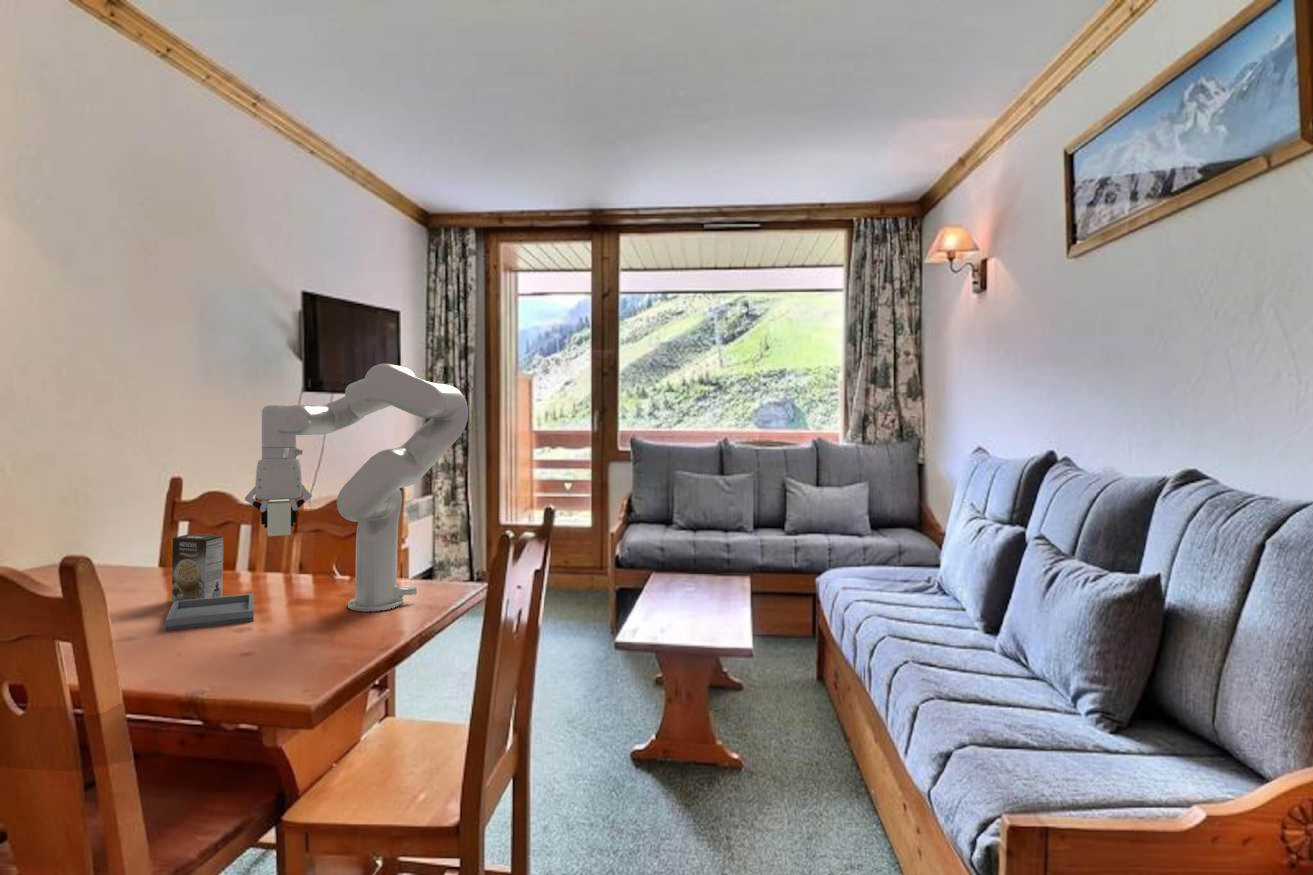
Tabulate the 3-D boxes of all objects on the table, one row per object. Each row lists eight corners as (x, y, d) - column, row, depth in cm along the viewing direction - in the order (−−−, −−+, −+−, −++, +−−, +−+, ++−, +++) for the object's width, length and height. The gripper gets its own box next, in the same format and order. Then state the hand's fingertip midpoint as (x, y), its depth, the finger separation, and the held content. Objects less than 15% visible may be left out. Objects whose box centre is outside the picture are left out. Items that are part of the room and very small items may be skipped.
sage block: (289, 531, 171) (289, 500, 170) (290, 534, 165) (290, 502, 165) (267, 532, 168) (267, 501, 168) (267, 536, 163) (267, 503, 163)
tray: (253, 603, 163) (253, 593, 163) (253, 621, 149) (253, 610, 149) (173, 611, 155) (173, 601, 155) (165, 631, 141) (165, 619, 141)
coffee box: (169, 602, 162) (170, 537, 161) (190, 595, 168) (191, 533, 168) (204, 604, 161) (205, 539, 160) (224, 597, 167) (225, 534, 167)
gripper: (315, 453, 174) (315, 522, 174) (239, 454, 165) (239, 526, 165) (318, 454, 167) (317, 526, 168) (238, 455, 159) (238, 531, 159)
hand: (278, 525), depth 167 cm, fingers closed on sage block, 5 cm apart
